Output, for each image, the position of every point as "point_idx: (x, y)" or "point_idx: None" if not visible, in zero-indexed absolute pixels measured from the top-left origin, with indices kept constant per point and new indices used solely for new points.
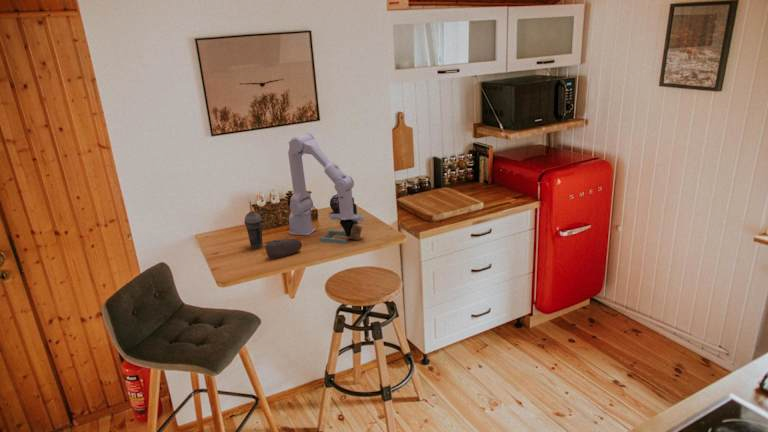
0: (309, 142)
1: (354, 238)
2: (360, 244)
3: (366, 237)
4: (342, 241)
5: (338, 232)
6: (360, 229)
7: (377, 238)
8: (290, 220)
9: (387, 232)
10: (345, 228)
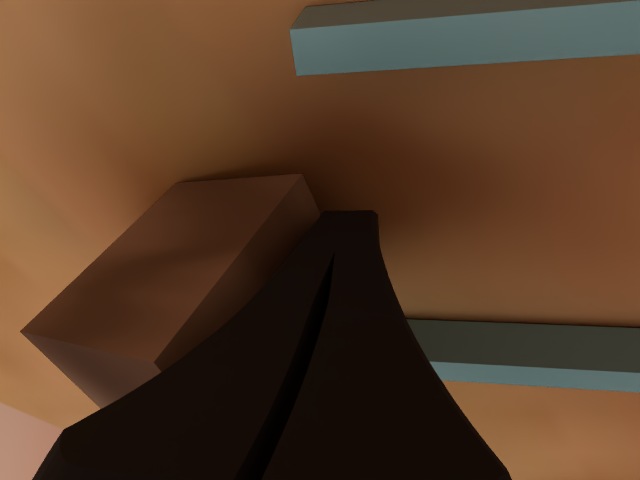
0: None
1: (216, 192)
2: (31, 45)
3: None
4: (382, 8)
5: (619, 358)
6: (41, 345)
7: (23, 288)
8: None
9: (71, 410)
10: (336, 328)
